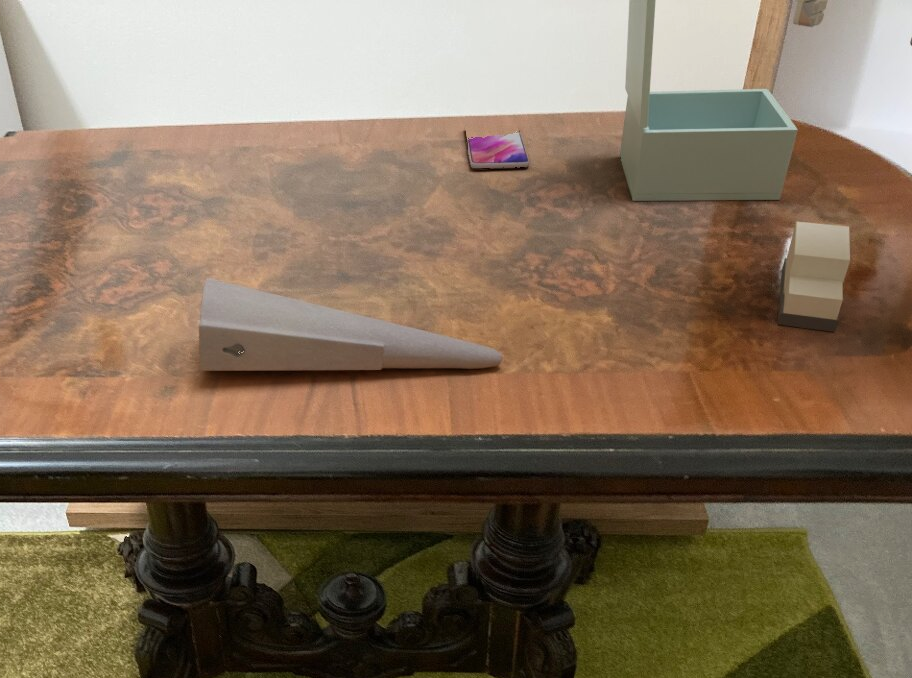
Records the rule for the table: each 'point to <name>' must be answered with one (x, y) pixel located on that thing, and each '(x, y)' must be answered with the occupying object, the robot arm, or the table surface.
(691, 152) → the shoebox
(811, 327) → the stepped cream block
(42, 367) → the table surface
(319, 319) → the grey tapered spike
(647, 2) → the shoebox lid
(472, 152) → the smartphone
